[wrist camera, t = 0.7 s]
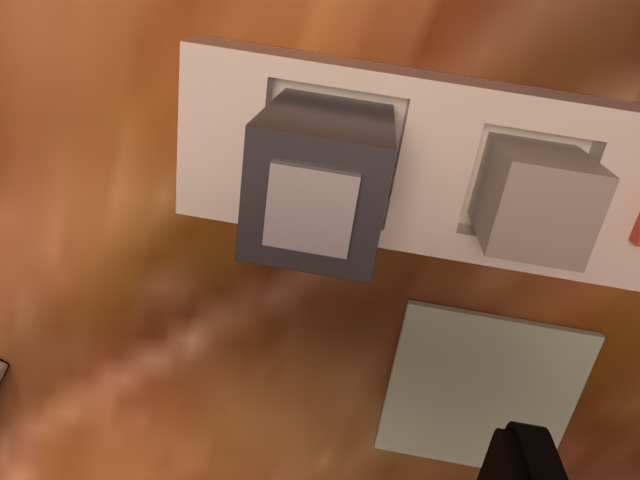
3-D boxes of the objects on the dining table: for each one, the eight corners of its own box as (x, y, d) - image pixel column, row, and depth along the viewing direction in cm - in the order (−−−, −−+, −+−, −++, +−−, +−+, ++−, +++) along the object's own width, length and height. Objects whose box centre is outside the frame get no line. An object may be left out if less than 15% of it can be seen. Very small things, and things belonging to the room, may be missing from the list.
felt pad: (601, 332, 31) (605, 338, 30) (542, 473, 35) (544, 479, 35) (408, 299, 31) (408, 303, 31) (374, 442, 36) (374, 448, 35)
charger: (393, 104, 25) (397, 153, 17) (373, 206, 27) (370, 289, 19) (285, 87, 25) (242, 127, 17) (274, 189, 27) (232, 265, 20)
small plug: (577, 145, 25) (620, 178, 20) (549, 225, 26) (583, 273, 22) (488, 131, 25) (512, 161, 20) (467, 211, 27) (484, 256, 22)
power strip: (882, 140, 25) (974, 167, 21) (795, 289, 28) (861, 336, 25) (204, 35, 26) (173, 42, 23) (197, 189, 30) (169, 219, 26)
